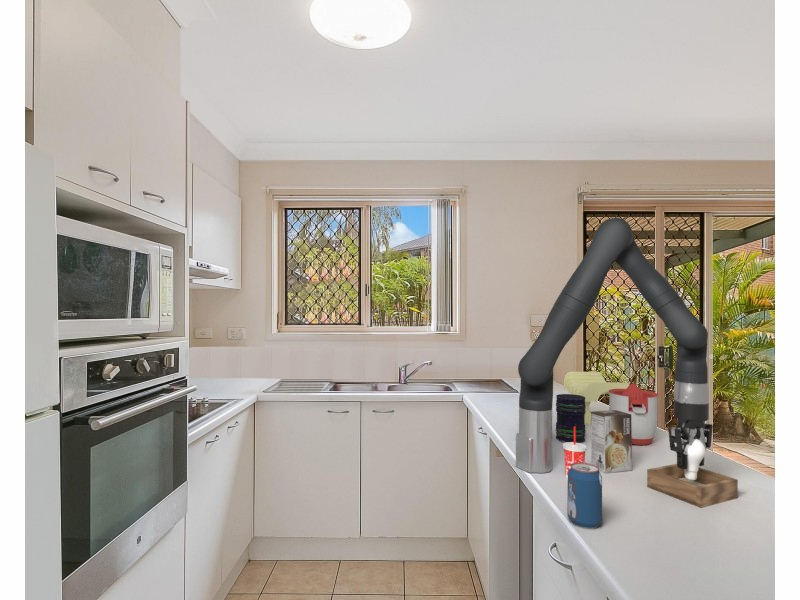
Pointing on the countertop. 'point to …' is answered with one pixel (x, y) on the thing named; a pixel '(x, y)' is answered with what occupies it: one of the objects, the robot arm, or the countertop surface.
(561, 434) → the storage jar
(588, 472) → the soda can
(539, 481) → the countertop surface
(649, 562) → the countertop surface
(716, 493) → the parts box
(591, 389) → the hair dryer
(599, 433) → the coffee box
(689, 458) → the lightbulb
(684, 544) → the countertop surface
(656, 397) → the citrus juicer
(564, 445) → the beverage cup
